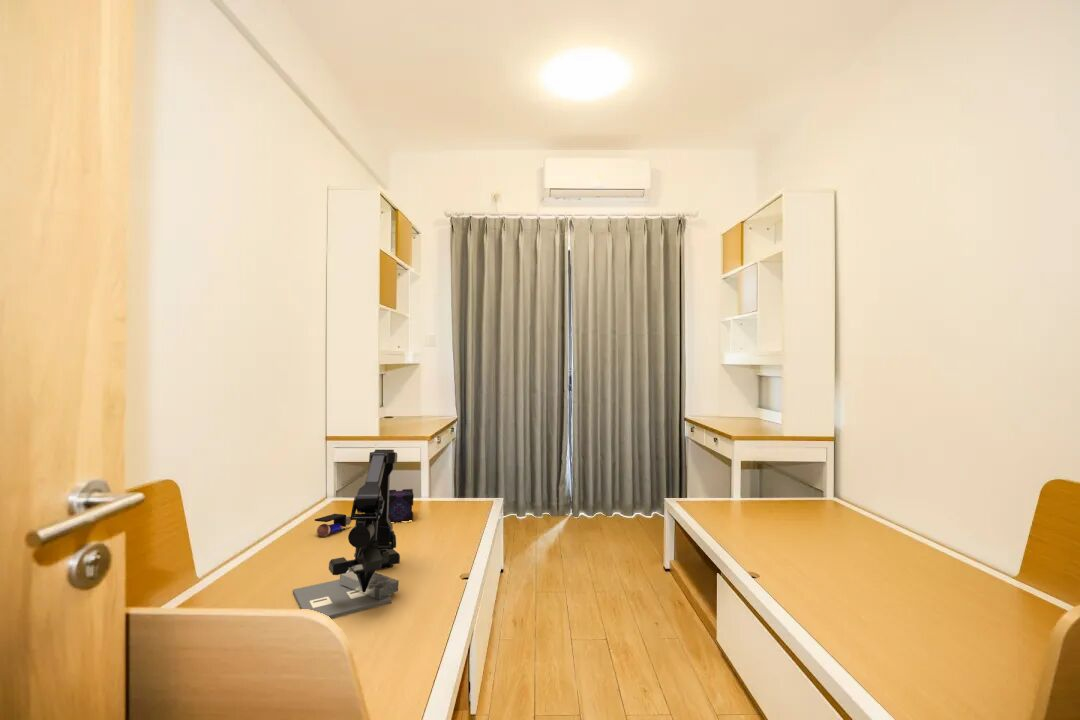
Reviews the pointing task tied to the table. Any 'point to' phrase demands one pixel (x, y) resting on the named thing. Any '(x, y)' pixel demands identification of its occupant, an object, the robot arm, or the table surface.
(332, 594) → the label board
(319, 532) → the figurine character
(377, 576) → the grey long block
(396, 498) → the energy cube
